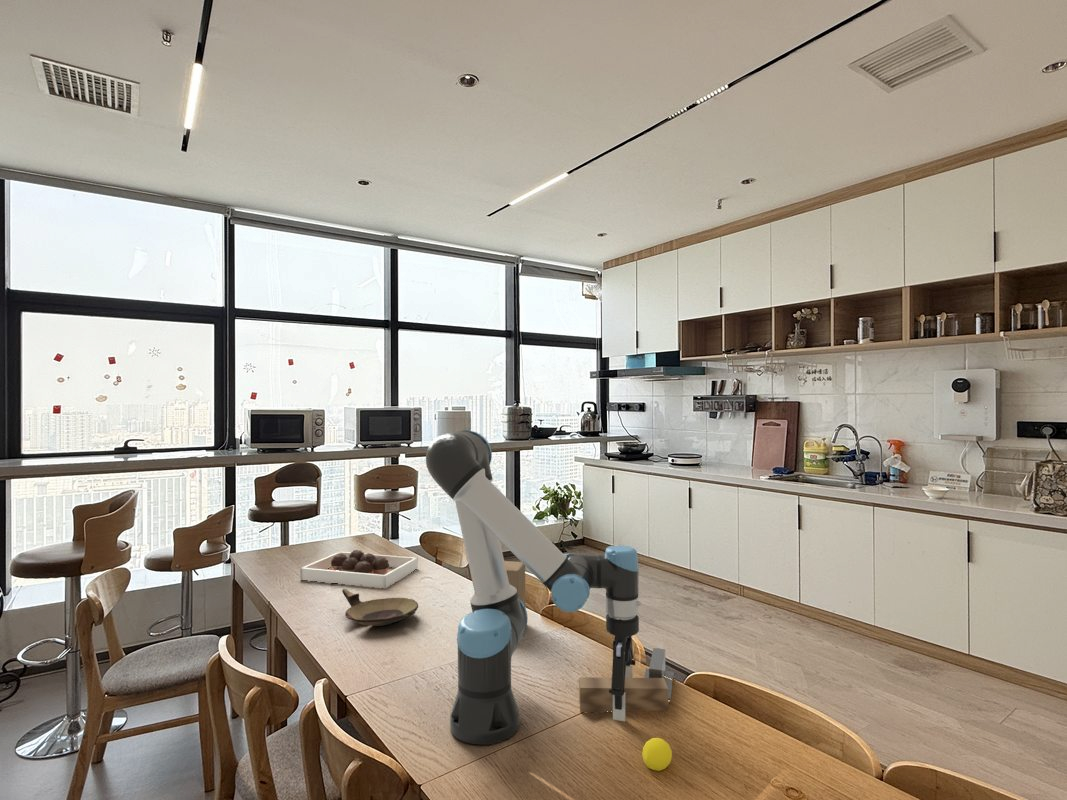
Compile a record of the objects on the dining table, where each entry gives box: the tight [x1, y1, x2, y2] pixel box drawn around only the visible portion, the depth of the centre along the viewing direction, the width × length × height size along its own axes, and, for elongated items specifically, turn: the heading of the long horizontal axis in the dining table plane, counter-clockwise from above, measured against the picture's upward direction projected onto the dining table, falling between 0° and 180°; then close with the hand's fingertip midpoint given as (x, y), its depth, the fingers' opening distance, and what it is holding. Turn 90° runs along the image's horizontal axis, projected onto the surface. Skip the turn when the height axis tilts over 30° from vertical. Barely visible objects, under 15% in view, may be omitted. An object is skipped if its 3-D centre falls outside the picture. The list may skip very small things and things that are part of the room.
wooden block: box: [504, 560, 526, 607], centre depth 181 cm, size 10×10×20 cm
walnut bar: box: [578, 676, 669, 713], centre depth 135 cm, size 20×5×6 cm, turn 88°
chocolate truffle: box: [327, 549, 390, 575], centre depth 239 cm, size 28×17×8 cm, turn 49°
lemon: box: [641, 737, 673, 772], centre depth 113 cm, size 7×5×5 cm
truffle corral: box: [299, 551, 419, 590], centre depth 238 cm, size 26×38×5 cm
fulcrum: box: [643, 647, 675, 700], centre depth 145 cm, size 14×7×7 cm, turn 163°
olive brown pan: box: [341, 588, 419, 627], centre depth 190 cm, size 22×30×8 cm
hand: (623, 706), depth 135 cm, fingers open, 12 cm apart
